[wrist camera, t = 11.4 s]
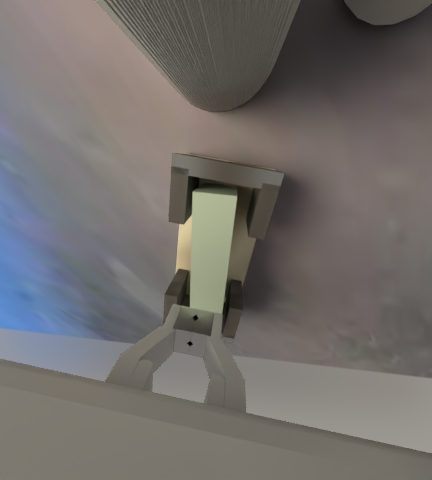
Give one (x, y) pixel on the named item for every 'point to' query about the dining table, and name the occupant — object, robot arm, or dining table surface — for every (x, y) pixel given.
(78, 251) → the dining table surface
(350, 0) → the can
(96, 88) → the dining table surface
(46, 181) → the dining table surface
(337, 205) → the dining table surface
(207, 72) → the cup
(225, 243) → the slat
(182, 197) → the grey and cream cradle
